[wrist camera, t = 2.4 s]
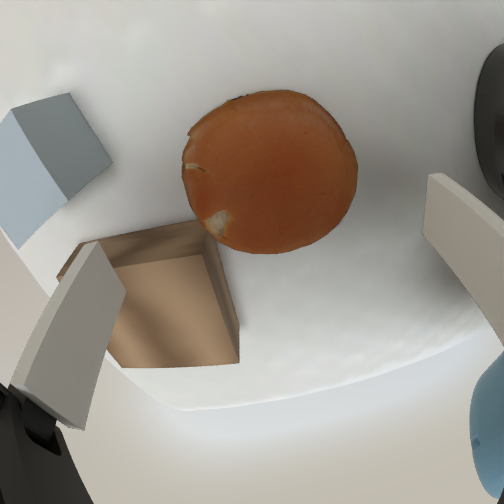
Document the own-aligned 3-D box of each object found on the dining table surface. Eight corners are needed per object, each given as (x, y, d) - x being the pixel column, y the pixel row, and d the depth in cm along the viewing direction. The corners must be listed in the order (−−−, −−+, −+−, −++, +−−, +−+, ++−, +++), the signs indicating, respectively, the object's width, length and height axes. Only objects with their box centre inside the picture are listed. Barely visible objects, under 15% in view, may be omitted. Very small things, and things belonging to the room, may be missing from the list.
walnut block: (209, 215, 19) (201, 254, 16) (239, 322, 26) (239, 363, 22) (80, 241, 20) (56, 277, 16) (132, 331, 26) (122, 367, 23)
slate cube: (69, 92, 13) (10, 109, 8) (113, 161, 16) (68, 200, 11) (21, 145, 15) (-31, 176, 10) (61, 204, 18) (18, 249, 13)
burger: (370, 155, 17) (403, 182, 13) (281, 250, 21) (289, 295, 17) (247, 56, 13) (248, 48, 9) (162, 177, 17) (139, 210, 14)
